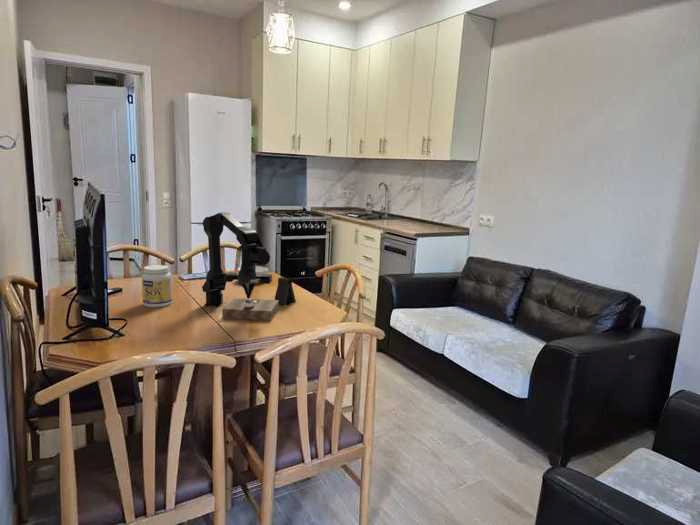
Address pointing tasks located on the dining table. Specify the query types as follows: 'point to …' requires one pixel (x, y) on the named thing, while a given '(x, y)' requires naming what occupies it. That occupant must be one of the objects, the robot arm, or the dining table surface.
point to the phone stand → (285, 292)
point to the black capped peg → (248, 304)
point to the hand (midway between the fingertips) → (248, 298)
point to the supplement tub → (156, 286)
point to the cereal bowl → (258, 270)
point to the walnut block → (258, 311)
